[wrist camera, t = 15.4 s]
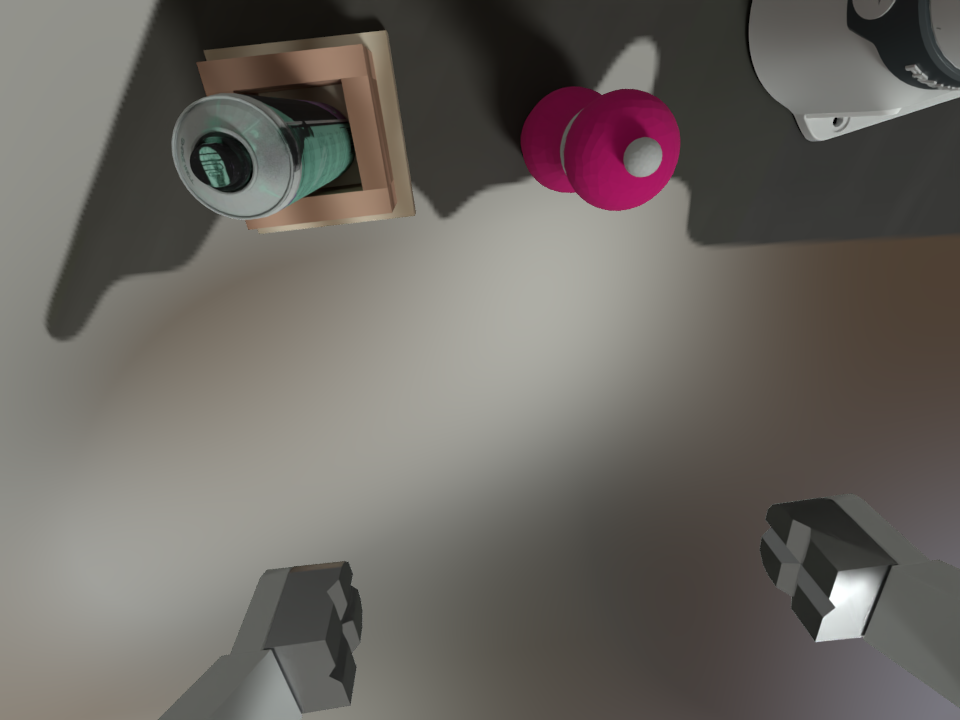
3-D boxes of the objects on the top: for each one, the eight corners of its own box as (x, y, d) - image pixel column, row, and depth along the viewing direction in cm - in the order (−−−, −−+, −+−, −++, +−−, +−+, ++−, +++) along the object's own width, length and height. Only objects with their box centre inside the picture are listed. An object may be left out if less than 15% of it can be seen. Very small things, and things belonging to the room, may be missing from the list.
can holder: (387, 33, 36) (377, 18, 31) (415, 212, 42) (411, 228, 37) (212, 52, 36) (168, 41, 30) (264, 230, 42) (236, 248, 36)
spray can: (321, 84, 36) (200, 56, 18) (372, 149, 38) (307, 178, 21) (269, 134, 38) (108, 152, 20) (321, 193, 40) (219, 258, 22)
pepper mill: (516, 189, 42) (571, 244, 24) (512, 93, 39) (572, 75, 21) (599, 181, 42) (715, 230, 24) (602, 85, 39) (738, 61, 21)
